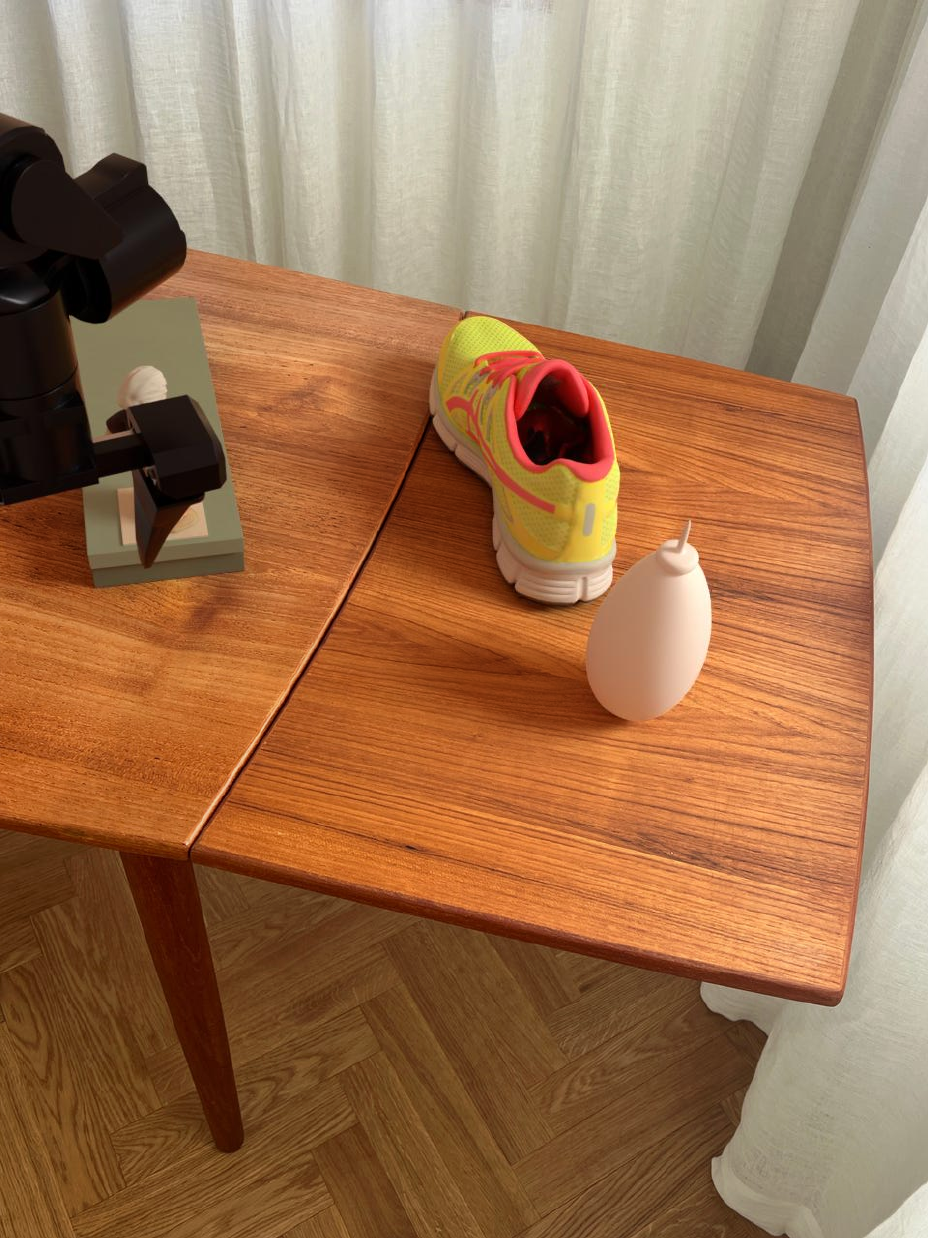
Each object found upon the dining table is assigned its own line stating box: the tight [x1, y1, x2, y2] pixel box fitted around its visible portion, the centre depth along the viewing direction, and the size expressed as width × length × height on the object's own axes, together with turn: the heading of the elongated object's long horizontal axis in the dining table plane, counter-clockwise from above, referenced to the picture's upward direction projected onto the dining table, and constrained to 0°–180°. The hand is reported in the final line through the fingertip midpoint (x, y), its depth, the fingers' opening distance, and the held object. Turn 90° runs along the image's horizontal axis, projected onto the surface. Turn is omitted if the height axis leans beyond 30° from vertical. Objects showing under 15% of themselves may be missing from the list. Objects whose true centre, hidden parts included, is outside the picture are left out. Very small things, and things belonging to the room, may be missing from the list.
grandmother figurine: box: [104, 366, 199, 533], centre depth 77 cm, size 8×4×13 cm, turn 73°
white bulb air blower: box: [584, 519, 713, 722], centre depth 73 cm, size 8×8×18 cm
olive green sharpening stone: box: [69, 296, 246, 589], centre depth 92 cm, size 32×11×4 cm, turn 15°
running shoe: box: [428, 315, 621, 606], centre depth 90 cm, size 12×31×14 cm, turn 18°
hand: (68, 584), depth 66 cm, fingers open, 9 cm apart
